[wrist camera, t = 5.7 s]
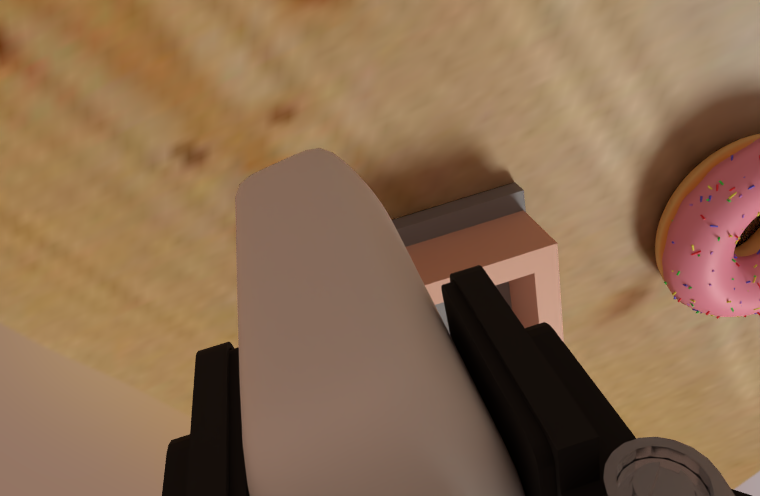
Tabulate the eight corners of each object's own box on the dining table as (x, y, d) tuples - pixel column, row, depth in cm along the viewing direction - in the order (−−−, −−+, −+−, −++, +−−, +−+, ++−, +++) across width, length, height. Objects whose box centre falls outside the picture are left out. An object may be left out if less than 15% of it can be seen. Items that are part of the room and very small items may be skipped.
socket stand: (304, 246, 29) (316, 297, 25) (515, 182, 30) (558, 221, 26) (363, 427, 36) (380, 488, 32) (534, 369, 37) (570, 422, 33)
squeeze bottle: (231, 349, 15) (235, 1286, 5) (236, 135, 12) (268, 1221, 2) (398, 344, 16) (683, 1099, 6) (435, 147, 13) (1067, 908, 3)
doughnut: (845, 128, 33) (920, 154, 30) (759, 294, 38) (813, 332, 35) (685, 111, 30) (745, 138, 27) (614, 293, 35) (657, 335, 32)
